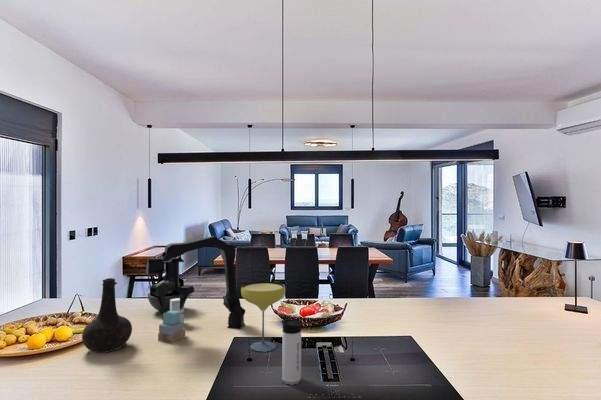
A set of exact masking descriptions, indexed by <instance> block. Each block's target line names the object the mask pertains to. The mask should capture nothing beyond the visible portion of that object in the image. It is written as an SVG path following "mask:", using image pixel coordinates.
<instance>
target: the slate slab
mask: <svg viewBox="0 0 601 400" xmlns="http://www.w3.org/2000/svg"><path fill="white" fill-rule="evenodd" d="M183 329H184V324H183V322H181V321H180V322H178V323H176V324H174V325H167V324H163V322H162V323H161V324H159V325H158V333H162V334H168V335H174V334H176V333H178V332H180V331H182V330H183Z"/></svg>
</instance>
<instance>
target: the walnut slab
mask: <svg viewBox="0 0 601 400" xmlns="http://www.w3.org/2000/svg"><path fill="white" fill-rule="evenodd" d="M185 337H186V328H183V330H182V331H180V332H178V333H176V334H174V335H168V334H162V333H159V332H158V333H157V341H159V342H167V343H176V342H178V341H179V340H181V339H183V338H185Z"/></svg>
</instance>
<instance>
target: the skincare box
mask: <svg viewBox="0 0 601 400" xmlns="http://www.w3.org/2000/svg"><path fill="white" fill-rule="evenodd" d="M170 310H172V311H180V321H181V322H183V325H184V324H185V305H184V306H183V308H182V309H181V310H180V298H176V299H170Z"/></svg>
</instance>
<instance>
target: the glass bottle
mask: <svg viewBox="0 0 601 400" xmlns="http://www.w3.org/2000/svg"><path fill="white" fill-rule="evenodd" d="M117 284H118V282H117V281H116V279H115V278H113V277H111V278H110V277H109V278H104V279H103V280H102V284H101V285H102V293H101V301H100V307H99V311H98V314H97V316H96V317H95V318H94V319H93V320H92V321H90V322H88V324H86V325H85V327H84V329H83V330H82V334H81V340H82V343H83V345H84V347H85V348H86V349H88V351H91V352H93V353H108V352H109V353H110V352H113V351H116V350H119V349H120V348H122V347H123V346H124V345H125V344H126V343H127V342H128V341H129V340H130V337H131V336H132V331H133V326H132V323H131V321H130V320H129V319H128V318H126V317H125V316H123V315H119V313H118V311H117V305H116V302H117V301H116V286H115V285H117Z"/></svg>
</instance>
